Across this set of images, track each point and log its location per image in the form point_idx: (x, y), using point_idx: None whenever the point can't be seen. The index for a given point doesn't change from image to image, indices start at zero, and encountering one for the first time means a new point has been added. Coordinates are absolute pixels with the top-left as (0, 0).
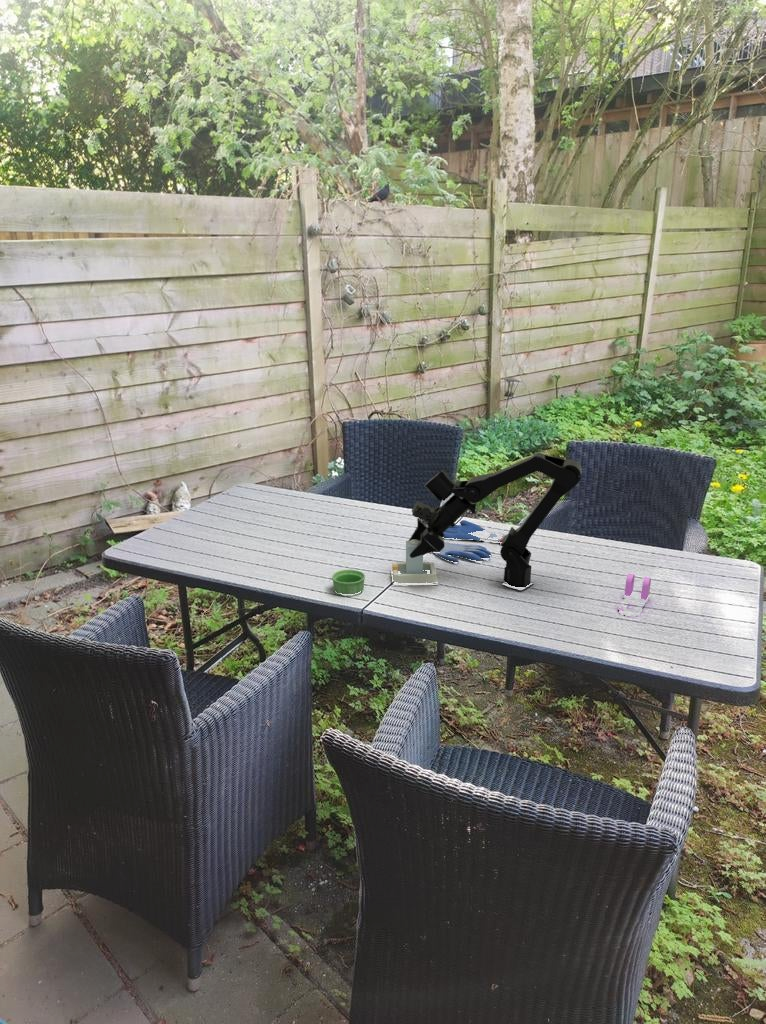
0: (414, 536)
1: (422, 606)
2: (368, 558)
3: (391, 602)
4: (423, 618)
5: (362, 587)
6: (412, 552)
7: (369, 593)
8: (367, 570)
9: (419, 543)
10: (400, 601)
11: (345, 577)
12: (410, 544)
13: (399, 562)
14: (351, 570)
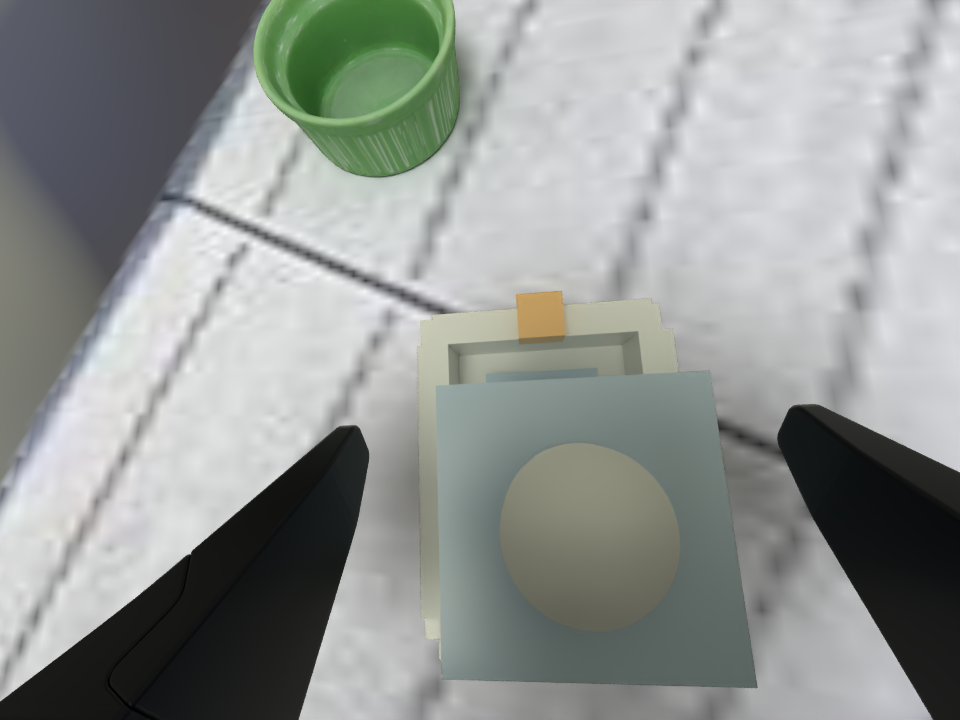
0: (938, 545)
1: (170, 495)
2: (868, 155)
3: (234, 328)
4: (48, 492)
5: (340, 157)
6: (292, 466)
7: (344, 212)
8: (656, 171)
9: (107, 661)
10: (240, 374)
11: (438, 45)
12: (534, 445)
13: (671, 352)
14: (445, 34)
